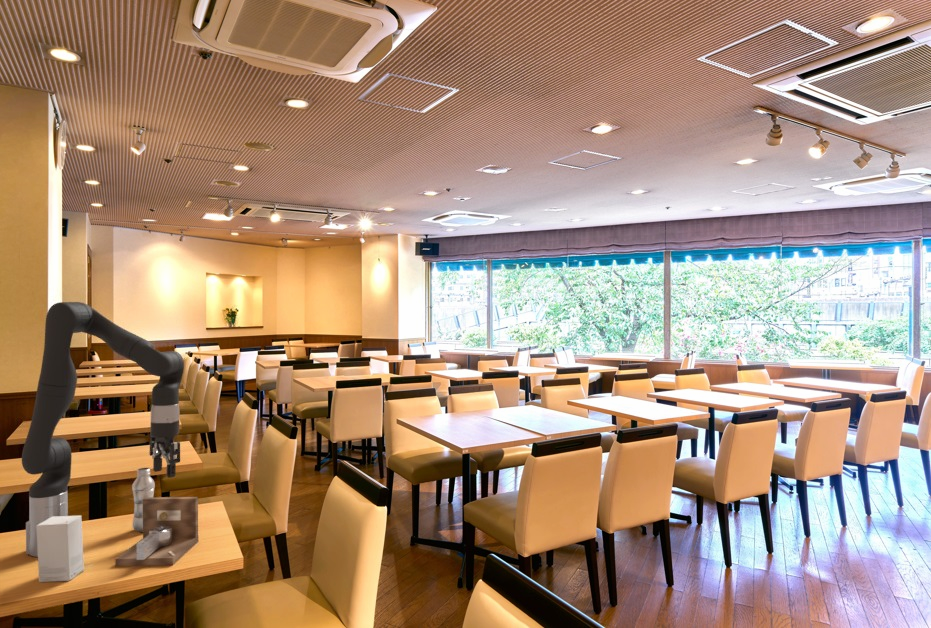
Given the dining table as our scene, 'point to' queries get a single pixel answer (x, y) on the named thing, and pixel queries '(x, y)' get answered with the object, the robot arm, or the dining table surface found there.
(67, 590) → the dining table surface
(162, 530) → the lever
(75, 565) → the skincare box
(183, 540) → the stand
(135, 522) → the plastic bottle
